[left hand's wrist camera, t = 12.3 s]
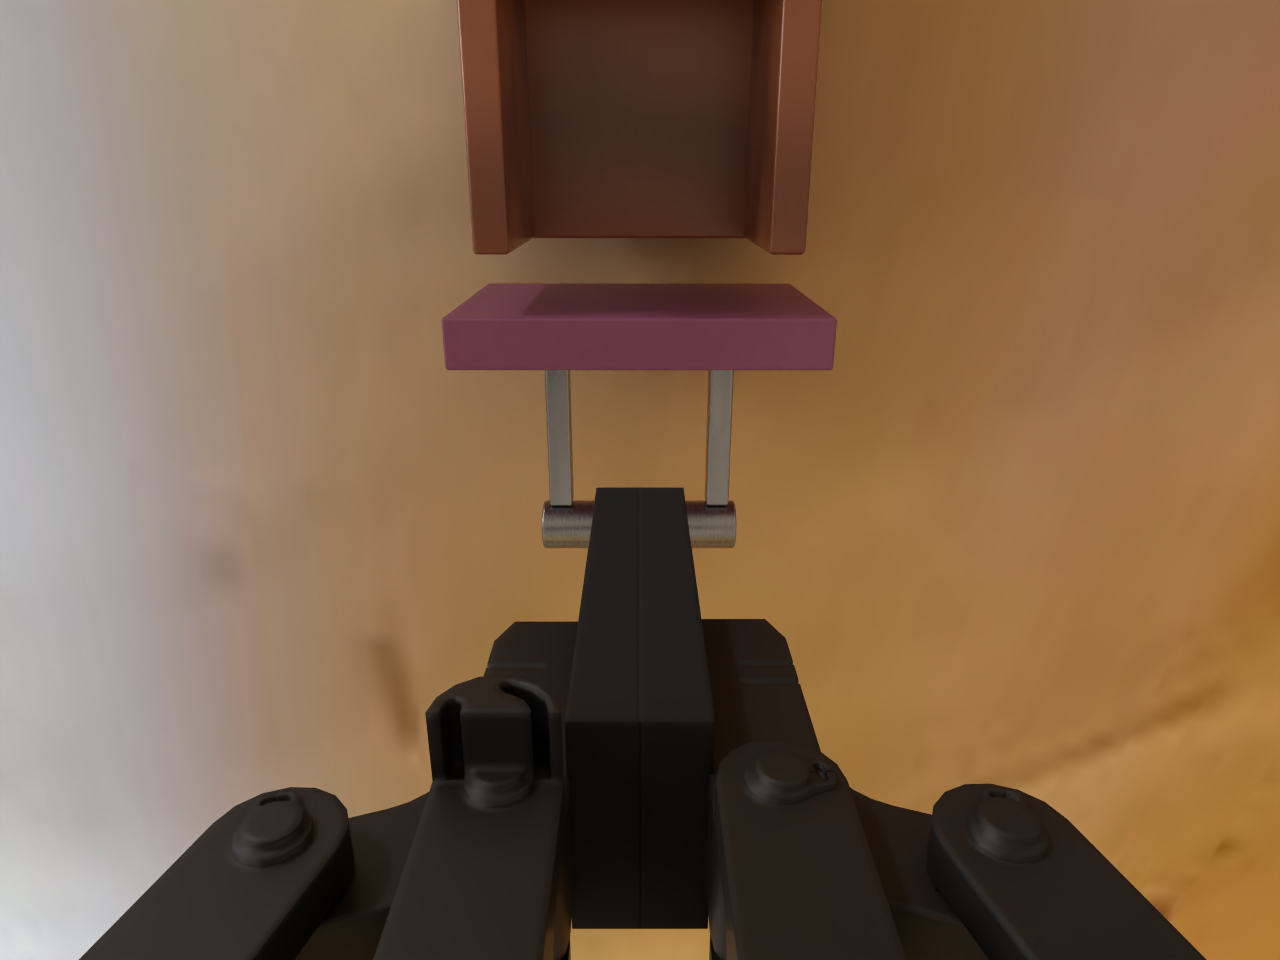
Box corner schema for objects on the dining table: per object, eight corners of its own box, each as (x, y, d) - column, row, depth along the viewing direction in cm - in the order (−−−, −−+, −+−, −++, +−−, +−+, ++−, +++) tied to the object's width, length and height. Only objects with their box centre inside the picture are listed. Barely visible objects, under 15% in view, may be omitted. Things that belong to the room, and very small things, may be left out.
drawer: (777, 493, 27) (816, 582, 21) (500, 493, 27) (462, 582, 21) (836, -470, 19) (924, -756, 13) (442, -471, 19) (354, -757, 13)
